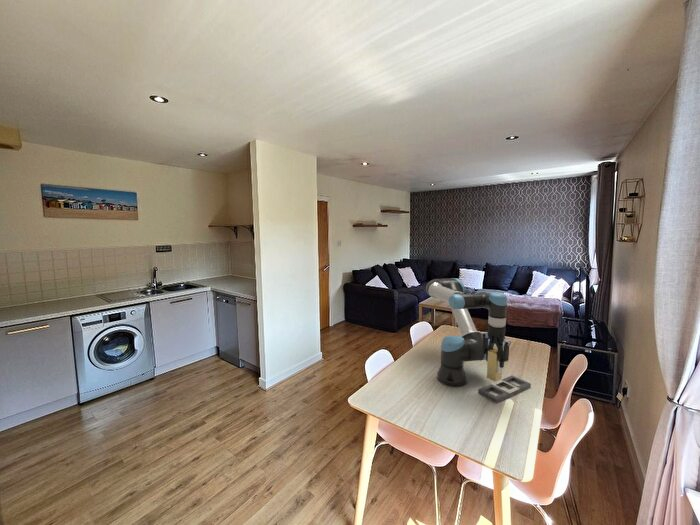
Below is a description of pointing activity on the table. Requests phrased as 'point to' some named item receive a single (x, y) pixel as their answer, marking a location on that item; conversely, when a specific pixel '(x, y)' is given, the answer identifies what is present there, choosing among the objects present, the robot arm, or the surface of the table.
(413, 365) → the table surface
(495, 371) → the brass peg
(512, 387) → the grey peg hole board
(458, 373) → the robot arm
